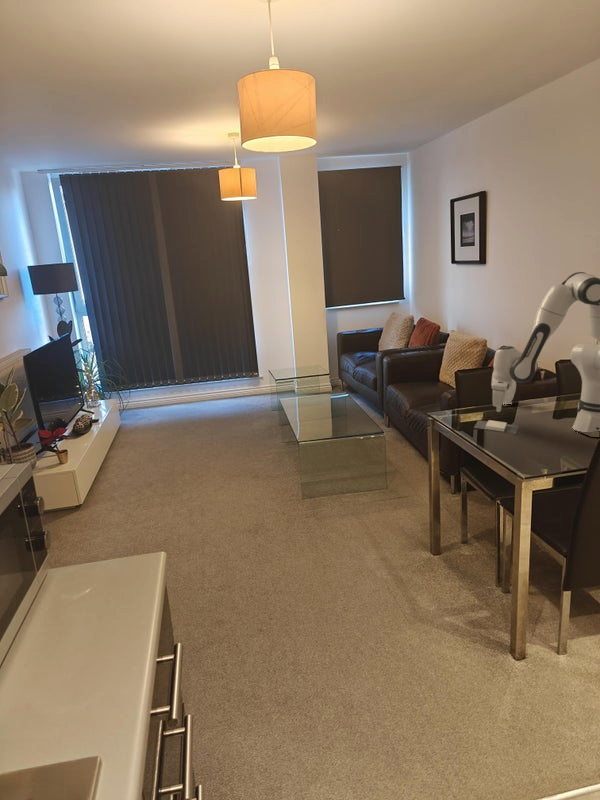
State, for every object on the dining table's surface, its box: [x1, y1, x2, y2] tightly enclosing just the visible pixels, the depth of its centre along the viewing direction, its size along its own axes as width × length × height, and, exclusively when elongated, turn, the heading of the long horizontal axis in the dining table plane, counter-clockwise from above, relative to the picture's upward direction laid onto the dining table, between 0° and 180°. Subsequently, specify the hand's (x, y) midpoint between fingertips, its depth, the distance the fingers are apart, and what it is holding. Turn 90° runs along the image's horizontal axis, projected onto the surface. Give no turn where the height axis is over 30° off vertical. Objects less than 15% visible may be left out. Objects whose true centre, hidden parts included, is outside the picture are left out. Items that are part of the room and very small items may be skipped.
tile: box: [484, 419, 508, 433], centre depth 242 cm, size 8×2×9 cm
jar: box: [502, 380, 517, 406], centre depth 278 cm, size 11×10×15 cm
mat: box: [473, 419, 519, 435], centre depth 243 cm, size 18×12×1 cm, turn 63°
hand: (498, 411), depth 244 cm, fingers closed
